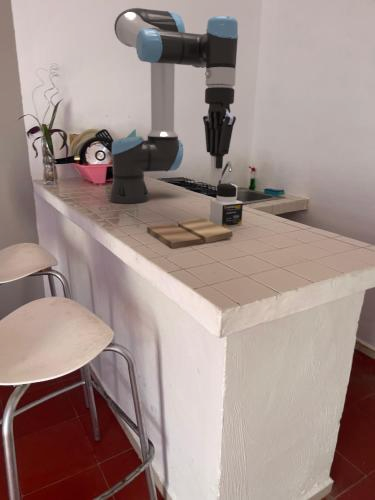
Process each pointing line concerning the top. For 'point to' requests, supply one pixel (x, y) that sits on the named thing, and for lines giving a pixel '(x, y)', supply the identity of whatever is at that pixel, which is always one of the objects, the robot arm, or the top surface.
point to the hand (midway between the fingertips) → (216, 180)
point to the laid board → (174, 236)
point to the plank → (205, 229)
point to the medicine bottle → (226, 207)
